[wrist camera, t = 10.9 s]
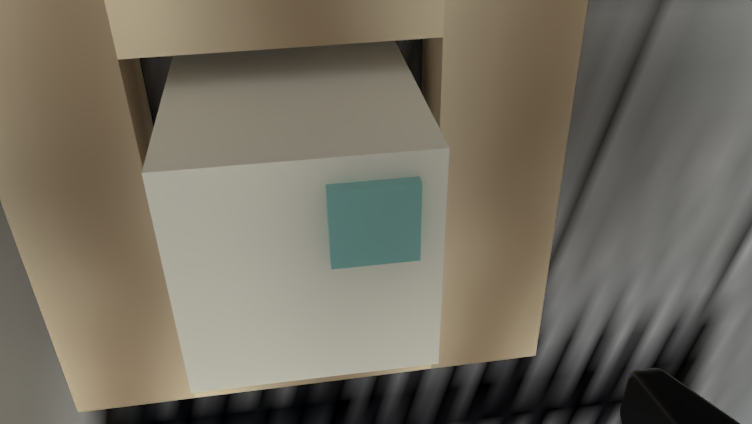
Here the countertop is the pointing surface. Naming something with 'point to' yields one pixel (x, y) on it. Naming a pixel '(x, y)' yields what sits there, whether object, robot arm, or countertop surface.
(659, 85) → the countertop surface
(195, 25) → the socket block
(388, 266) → the cream block
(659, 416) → the robot arm
